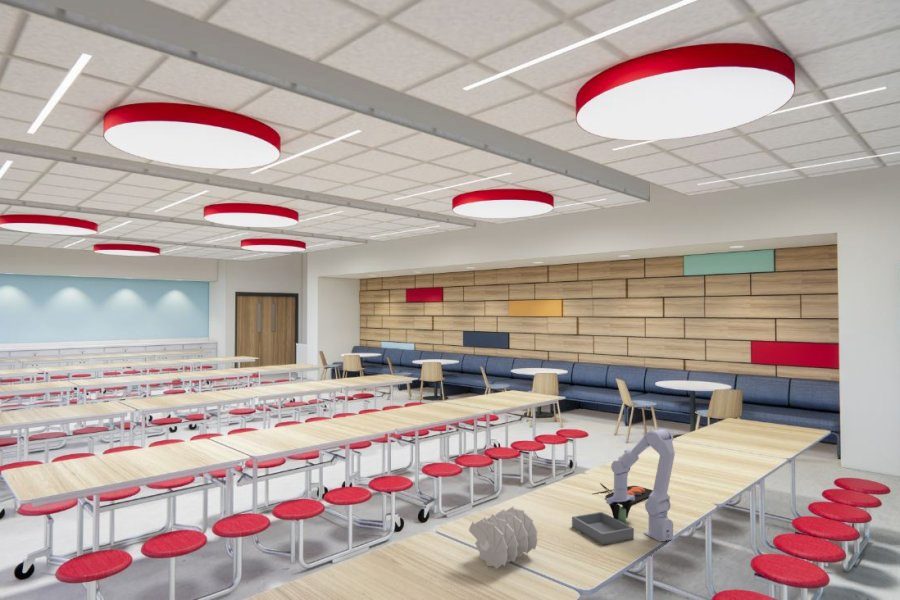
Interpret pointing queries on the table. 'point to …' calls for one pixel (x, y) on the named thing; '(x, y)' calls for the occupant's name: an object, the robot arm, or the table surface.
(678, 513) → the table surface
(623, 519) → the green rounded tapered piece
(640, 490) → the sushi plate
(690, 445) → the table surface
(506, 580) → the table surface
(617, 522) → the bin
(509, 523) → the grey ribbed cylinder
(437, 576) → the table surface
